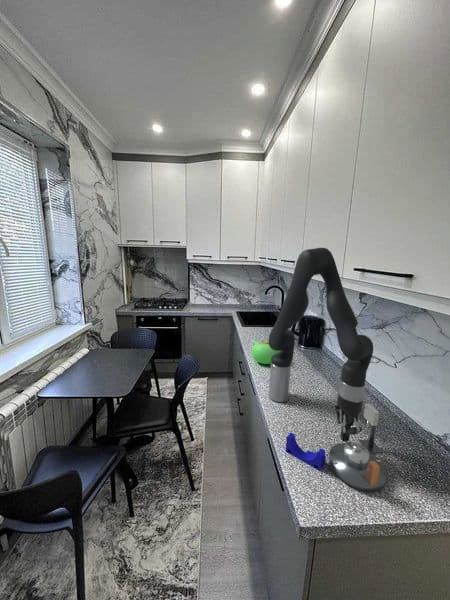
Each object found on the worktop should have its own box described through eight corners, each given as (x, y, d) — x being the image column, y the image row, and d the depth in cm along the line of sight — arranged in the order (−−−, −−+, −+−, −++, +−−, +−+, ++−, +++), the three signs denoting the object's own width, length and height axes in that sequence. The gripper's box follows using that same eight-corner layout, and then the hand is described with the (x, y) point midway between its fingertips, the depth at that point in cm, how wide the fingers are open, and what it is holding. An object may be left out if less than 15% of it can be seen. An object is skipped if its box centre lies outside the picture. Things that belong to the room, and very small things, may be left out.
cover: (338, 452, 82) (340, 438, 81) (358, 451, 82) (360, 437, 81) (351, 470, 75) (353, 455, 74) (372, 469, 75) (375, 454, 74)
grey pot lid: (320, 448, 86) (322, 428, 84) (364, 447, 87) (367, 427, 85) (345, 492, 70) (349, 468, 68) (399, 490, 71) (403, 466, 70)
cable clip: (325, 463, 81) (327, 448, 80) (319, 472, 78) (321, 456, 77) (291, 444, 89) (292, 430, 88) (285, 451, 86) (286, 436, 85)
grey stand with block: (358, 442, 91) (364, 402, 88) (371, 441, 91) (377, 402, 88) (368, 455, 85) (375, 413, 82) (382, 454, 85) (389, 413, 83)
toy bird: (253, 368, 148) (254, 344, 146) (249, 356, 165) (250, 335, 162) (282, 368, 149) (284, 345, 146) (276, 356, 166) (277, 336, 163)
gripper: (330, 383, 88) (324, 426, 91) (351, 406, 75) (344, 456, 78) (350, 383, 88) (344, 426, 92) (374, 406, 75) (366, 455, 79)
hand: (344, 440), depth 85 cm, fingers closed
